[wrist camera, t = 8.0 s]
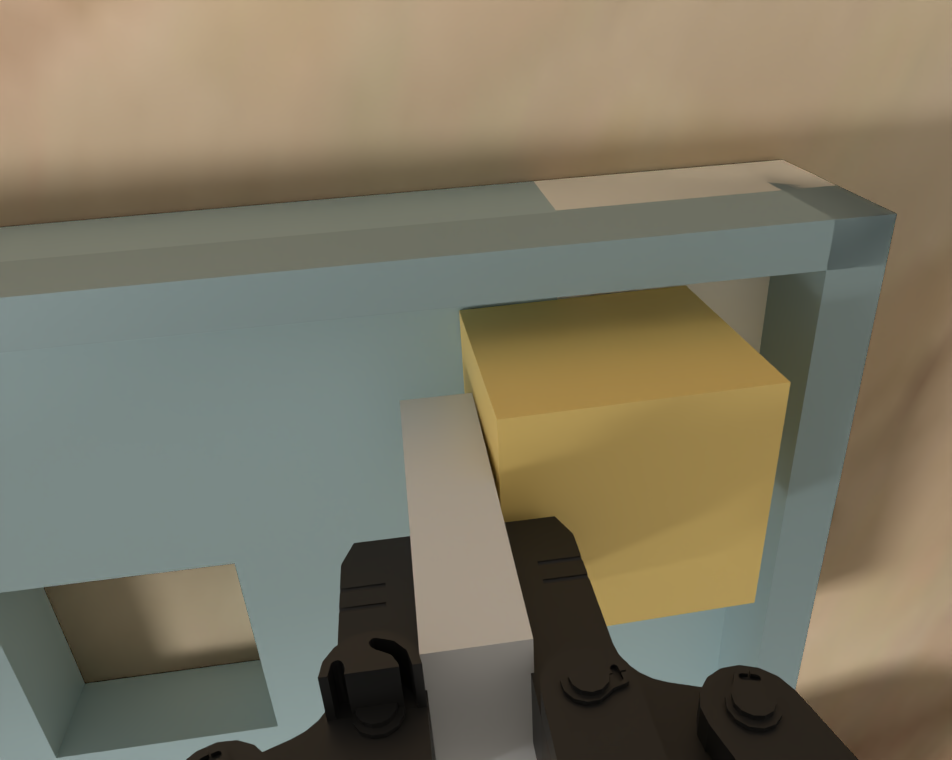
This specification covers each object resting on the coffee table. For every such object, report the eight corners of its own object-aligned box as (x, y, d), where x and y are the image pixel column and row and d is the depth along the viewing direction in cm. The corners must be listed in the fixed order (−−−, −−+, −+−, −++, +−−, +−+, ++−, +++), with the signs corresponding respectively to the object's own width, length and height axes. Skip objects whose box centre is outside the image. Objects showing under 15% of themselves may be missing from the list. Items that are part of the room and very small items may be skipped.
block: (471, 500, 19) (507, 642, 15) (458, 310, 16) (497, 419, 12) (669, 472, 19) (754, 602, 15) (685, 285, 17) (790, 382, 13)
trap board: (-111, 734, 23) (-207, 890, 19) (-413, 262, 16) (-663, 359, 12) (720, 619, 26) (784, 739, 22) (782, 160, 18) (896, 213, 14)
